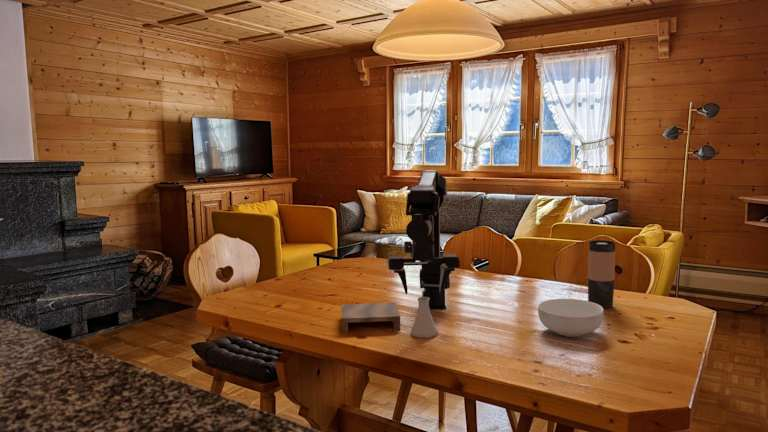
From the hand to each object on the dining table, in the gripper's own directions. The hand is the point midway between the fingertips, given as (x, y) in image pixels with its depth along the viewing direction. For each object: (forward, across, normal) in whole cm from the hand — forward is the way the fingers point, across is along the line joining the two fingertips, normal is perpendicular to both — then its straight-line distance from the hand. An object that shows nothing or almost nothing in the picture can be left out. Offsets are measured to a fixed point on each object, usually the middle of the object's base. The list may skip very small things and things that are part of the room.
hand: (423, 293), depth 152 cm
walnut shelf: (+11, +14, -11) cm, 21 cm away
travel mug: (+12, -58, -20) cm, 62 cm away
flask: (+12, 0, 0) cm, 12 cm away
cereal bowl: (+12, -39, +3) cm, 41 cm away
